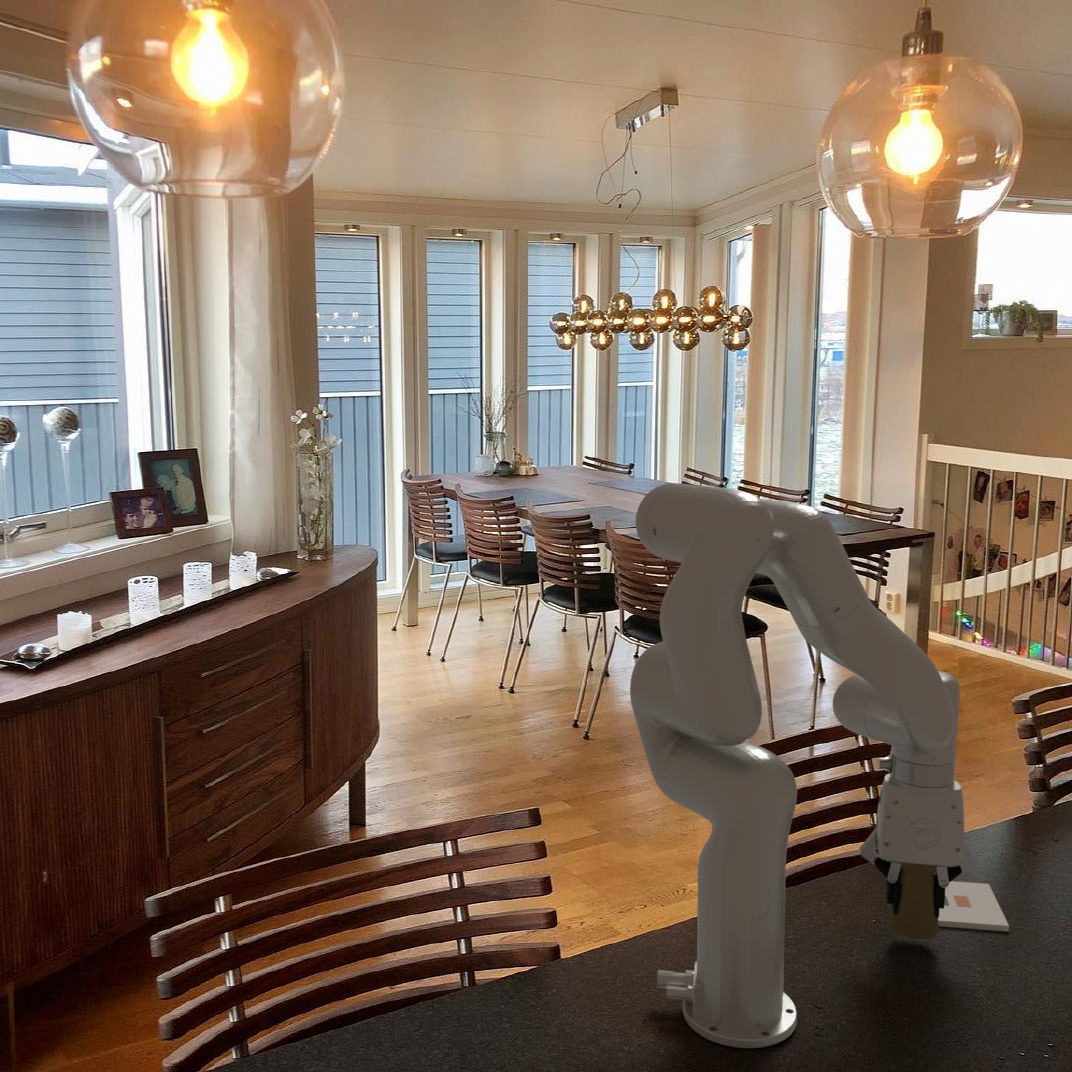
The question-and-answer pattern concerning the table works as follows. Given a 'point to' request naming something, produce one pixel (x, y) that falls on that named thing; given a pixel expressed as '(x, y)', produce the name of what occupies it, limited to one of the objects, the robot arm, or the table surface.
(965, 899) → the tile
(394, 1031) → the table surface
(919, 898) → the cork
